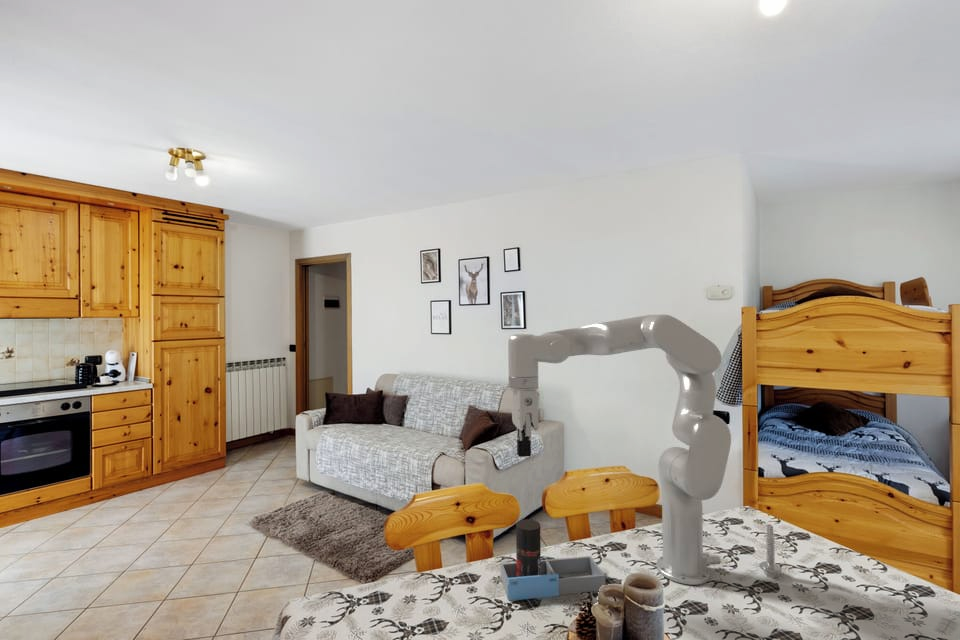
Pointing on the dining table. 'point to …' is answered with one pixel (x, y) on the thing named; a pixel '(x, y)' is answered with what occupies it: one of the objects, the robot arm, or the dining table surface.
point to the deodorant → (528, 548)
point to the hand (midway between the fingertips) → (524, 455)
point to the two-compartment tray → (552, 578)
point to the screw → (770, 556)
